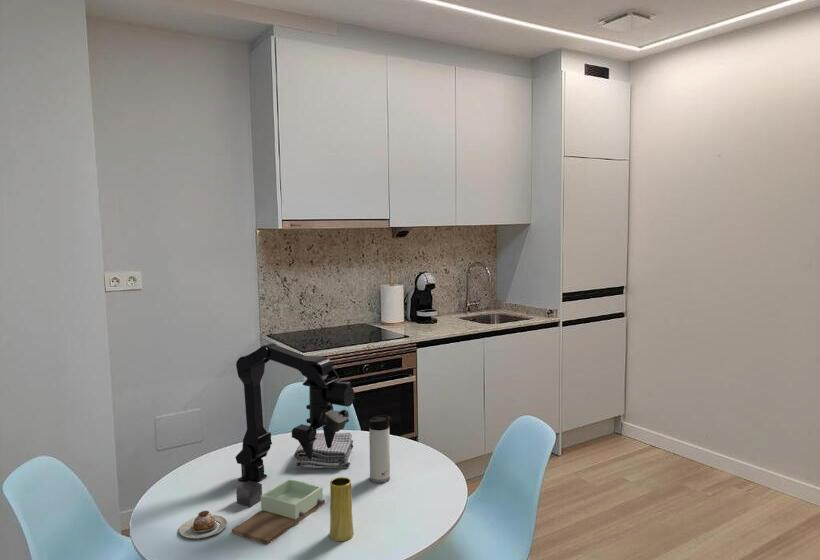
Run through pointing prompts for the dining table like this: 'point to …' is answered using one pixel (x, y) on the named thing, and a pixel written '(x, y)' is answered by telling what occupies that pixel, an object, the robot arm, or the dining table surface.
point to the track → (268, 525)
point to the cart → (292, 498)
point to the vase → (341, 509)
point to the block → (249, 493)
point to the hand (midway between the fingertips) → (319, 453)
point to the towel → (327, 453)
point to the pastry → (203, 525)
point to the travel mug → (379, 448)
